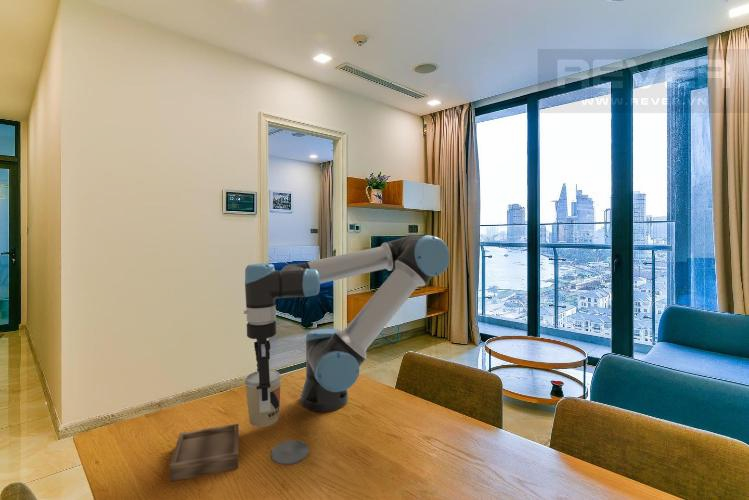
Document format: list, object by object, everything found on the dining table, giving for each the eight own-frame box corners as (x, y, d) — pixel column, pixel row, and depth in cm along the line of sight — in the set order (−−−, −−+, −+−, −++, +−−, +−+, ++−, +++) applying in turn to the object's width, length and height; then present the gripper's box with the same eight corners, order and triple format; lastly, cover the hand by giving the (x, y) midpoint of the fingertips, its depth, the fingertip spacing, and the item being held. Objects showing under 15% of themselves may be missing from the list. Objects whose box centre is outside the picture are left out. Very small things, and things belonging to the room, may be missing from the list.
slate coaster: (305, 440, 97) (305, 437, 97) (311, 460, 88) (311, 457, 88) (269, 446, 94) (269, 444, 94) (272, 468, 85) (272, 465, 85)
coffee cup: (272, 430, 95) (270, 384, 94) (239, 426, 97) (237, 382, 96) (287, 412, 104) (286, 370, 103) (257, 409, 106) (256, 368, 105)
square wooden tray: (238, 436, 98) (238, 423, 98) (238, 468, 85) (237, 453, 85) (180, 446, 94) (179, 433, 93) (169, 482, 80) (169, 466, 80)
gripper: (246, 313, 108) (248, 388, 109) (247, 333, 87) (250, 425, 88) (272, 311, 110) (274, 384, 112) (279, 330, 90) (282, 419, 91)
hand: (264, 402), depth 100 cm, fingers closed on coffee cup, 9 cm apart
